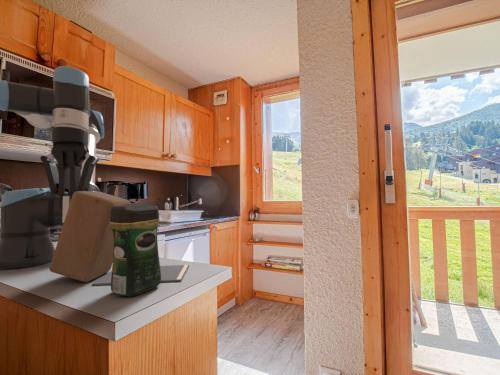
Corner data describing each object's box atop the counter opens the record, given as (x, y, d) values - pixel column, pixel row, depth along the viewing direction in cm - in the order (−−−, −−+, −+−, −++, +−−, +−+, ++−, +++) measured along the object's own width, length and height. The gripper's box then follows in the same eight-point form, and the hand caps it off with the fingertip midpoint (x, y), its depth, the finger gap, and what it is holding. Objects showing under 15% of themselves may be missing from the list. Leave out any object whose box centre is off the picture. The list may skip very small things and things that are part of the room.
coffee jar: (145, 277, 60) (144, 201, 59) (166, 284, 55) (166, 202, 55) (103, 292, 51) (102, 203, 51) (125, 302, 47) (124, 205, 47)
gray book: (116, 269, 69) (116, 267, 69) (189, 266, 71) (189, 264, 71) (91, 285, 56) (91, 283, 56) (181, 281, 58) (181, 279, 58)
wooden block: (86, 284, 57) (112, 201, 58) (45, 272, 57) (72, 189, 58) (111, 271, 67) (133, 201, 68) (76, 261, 67) (99, 190, 68)
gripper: (32, 125, 59) (29, 224, 57) (89, 125, 60) (87, 222, 58) (54, 133, 66) (52, 222, 65) (104, 133, 67) (103, 220, 66)
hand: (69, 222), depth 62 cm, fingers closed
